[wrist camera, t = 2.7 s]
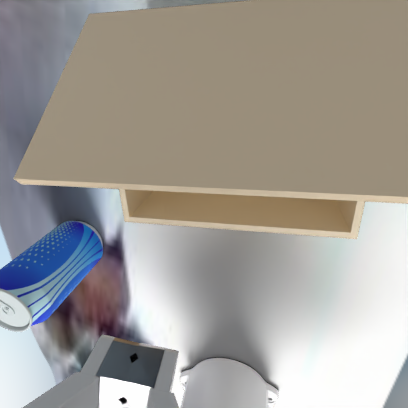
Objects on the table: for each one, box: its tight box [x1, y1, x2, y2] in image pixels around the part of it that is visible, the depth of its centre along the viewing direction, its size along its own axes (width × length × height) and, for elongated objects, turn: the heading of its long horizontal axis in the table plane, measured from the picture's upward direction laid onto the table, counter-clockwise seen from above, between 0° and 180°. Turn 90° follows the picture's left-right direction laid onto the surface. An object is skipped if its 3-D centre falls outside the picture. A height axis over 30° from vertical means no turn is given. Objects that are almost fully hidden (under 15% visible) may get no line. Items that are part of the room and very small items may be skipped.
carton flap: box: [14, 0, 408, 204], centre depth 17 cm, size 14×21×1 cm
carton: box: [119, 189, 365, 239], centre depth 29 cm, size 18×22×12 cm
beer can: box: [0, 221, 103, 332], centre depth 41 cm, size 8×8×16 cm
